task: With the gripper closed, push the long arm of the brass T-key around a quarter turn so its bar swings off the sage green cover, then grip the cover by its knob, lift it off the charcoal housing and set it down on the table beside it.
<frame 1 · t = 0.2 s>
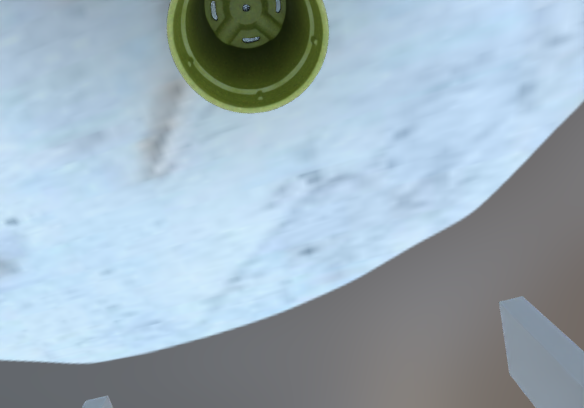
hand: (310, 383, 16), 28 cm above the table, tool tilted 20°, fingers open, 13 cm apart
plant pot: (244, 5, 36), on the table
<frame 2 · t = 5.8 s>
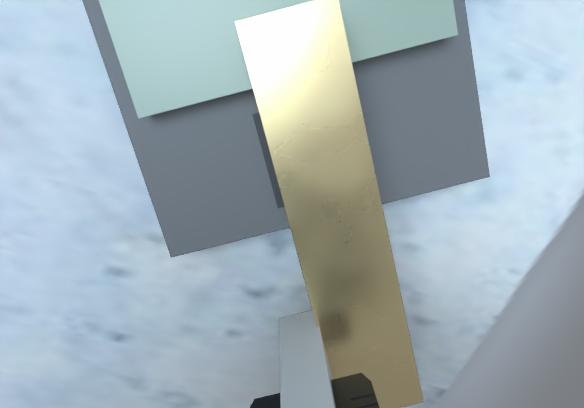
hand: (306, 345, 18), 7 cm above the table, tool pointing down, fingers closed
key: (331, 213, 18), point 6 cm above the table, hinge at 0.1°, touching gripper
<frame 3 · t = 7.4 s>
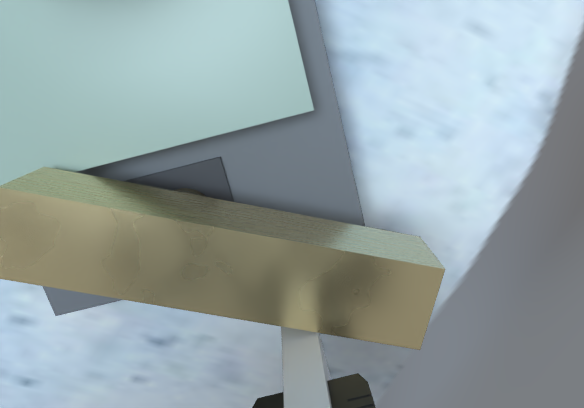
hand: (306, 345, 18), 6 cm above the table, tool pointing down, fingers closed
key: (228, 246, 18), point 6 cm above the table, hinge at 64.5°, touching gripper
housing: (151, 44, 21), on the table
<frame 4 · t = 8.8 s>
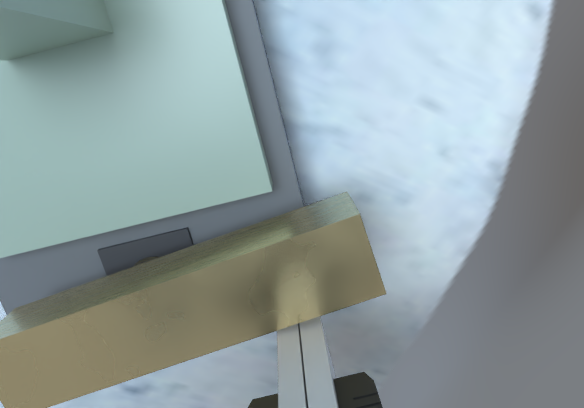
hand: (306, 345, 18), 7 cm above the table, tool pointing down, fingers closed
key: (189, 291, 19), point 6 cm above the table, hinge at 95.9°
cover: (81, 61, 19), point 3 cm above the table, touching housing
housing: (126, 117, 22), on the table
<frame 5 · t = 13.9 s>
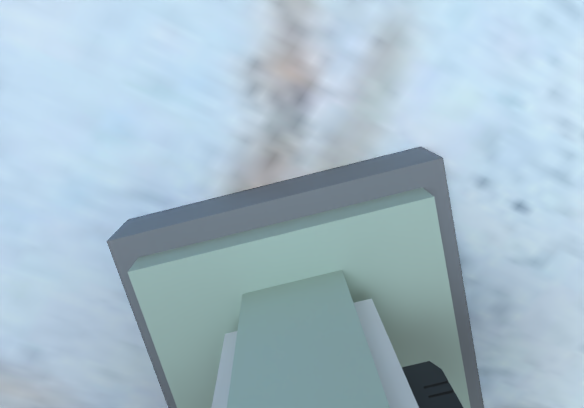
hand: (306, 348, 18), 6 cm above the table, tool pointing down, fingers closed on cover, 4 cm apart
cover: (315, 358, 22), point 3 cm above the table, touching gripper, housing
housing: (321, 366, 25), on the table
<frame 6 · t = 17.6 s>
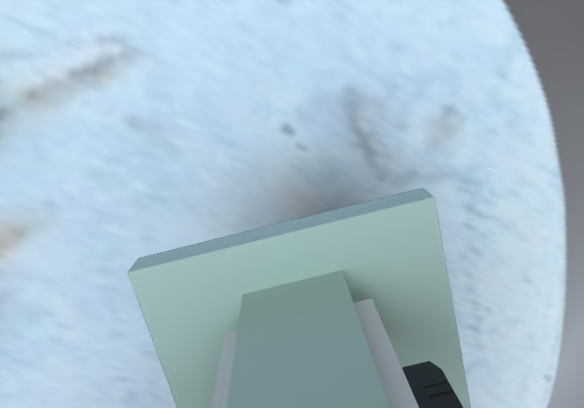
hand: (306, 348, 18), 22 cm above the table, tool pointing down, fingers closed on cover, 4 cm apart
cover: (315, 358, 22), point 19 cm above the table, touching gripper
when the fingers open (5 cm above the table, at t = 21.1 s): cover drops 2 cm, on the table.
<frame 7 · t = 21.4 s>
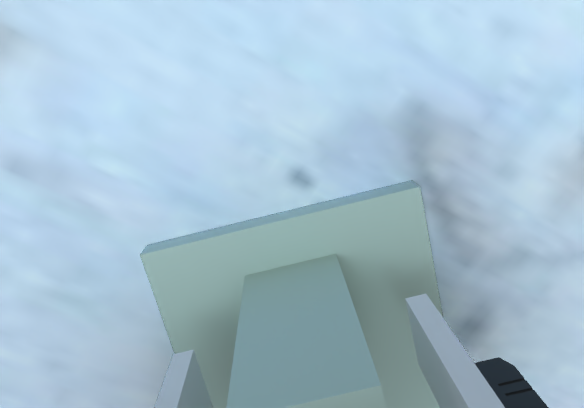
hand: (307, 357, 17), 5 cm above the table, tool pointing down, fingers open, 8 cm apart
cover: (311, 337, 23), on the table
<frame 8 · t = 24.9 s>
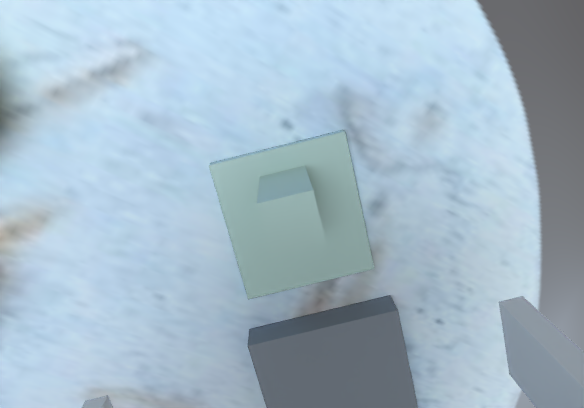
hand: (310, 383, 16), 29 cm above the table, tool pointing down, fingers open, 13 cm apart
cover: (293, 214, 45), on the table
housing: (341, 398, 50), on the table
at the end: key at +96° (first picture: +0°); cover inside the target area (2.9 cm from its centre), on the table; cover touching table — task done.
